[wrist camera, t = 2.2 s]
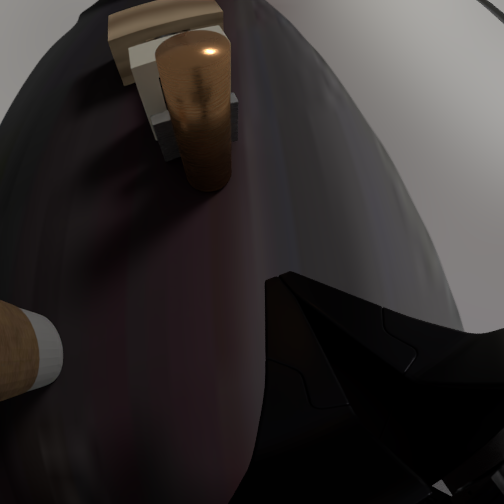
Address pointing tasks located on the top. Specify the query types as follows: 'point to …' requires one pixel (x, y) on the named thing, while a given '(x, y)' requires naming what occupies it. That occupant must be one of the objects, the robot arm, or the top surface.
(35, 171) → the top surface
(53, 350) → the coffee cup
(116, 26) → the bearing block
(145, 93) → the spacer
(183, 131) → the shaft
